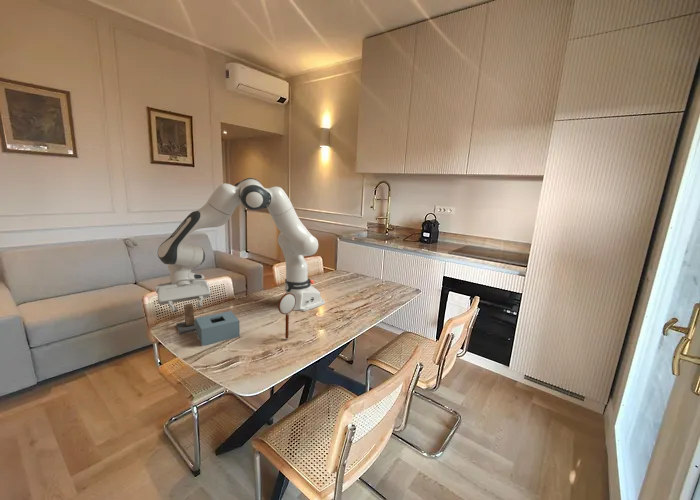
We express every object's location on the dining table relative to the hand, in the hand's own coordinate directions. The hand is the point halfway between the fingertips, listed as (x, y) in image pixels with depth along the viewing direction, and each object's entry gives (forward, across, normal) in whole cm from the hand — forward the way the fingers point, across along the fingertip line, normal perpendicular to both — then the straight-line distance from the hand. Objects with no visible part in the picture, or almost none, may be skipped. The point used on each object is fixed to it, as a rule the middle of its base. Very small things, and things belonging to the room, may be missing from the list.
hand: (187, 309), depth 126 cm
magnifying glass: (+29, +30, -18) cm, 45 cm away
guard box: (+16, +8, -6) cm, 19 cm away
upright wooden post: (+6, 0, +3) cm, 7 cm away
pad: (+7, 0, +4) cm, 8 cm away
